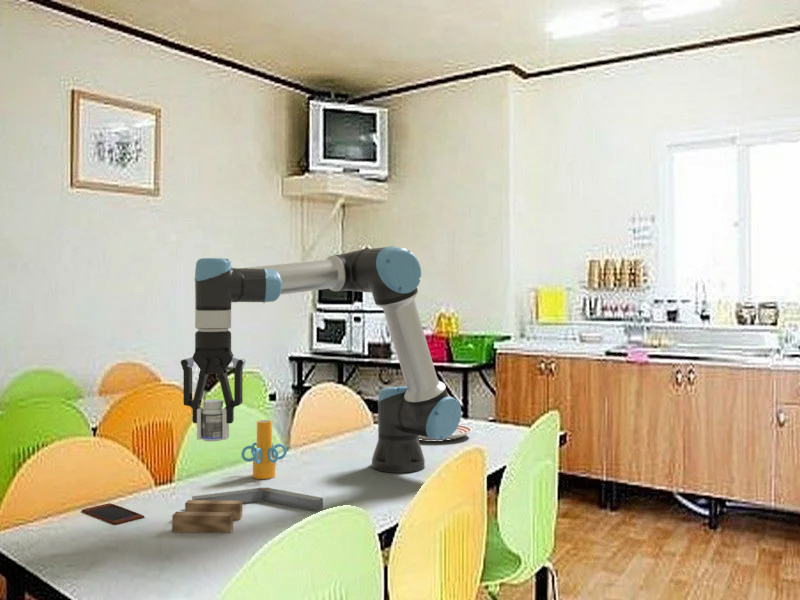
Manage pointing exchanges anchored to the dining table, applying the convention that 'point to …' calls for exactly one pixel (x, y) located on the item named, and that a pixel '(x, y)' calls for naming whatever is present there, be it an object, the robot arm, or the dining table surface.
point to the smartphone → (113, 514)
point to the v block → (268, 498)
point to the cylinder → (264, 452)
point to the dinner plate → (461, 429)
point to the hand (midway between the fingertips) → (213, 438)
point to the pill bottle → (212, 420)
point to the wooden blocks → (207, 516)
